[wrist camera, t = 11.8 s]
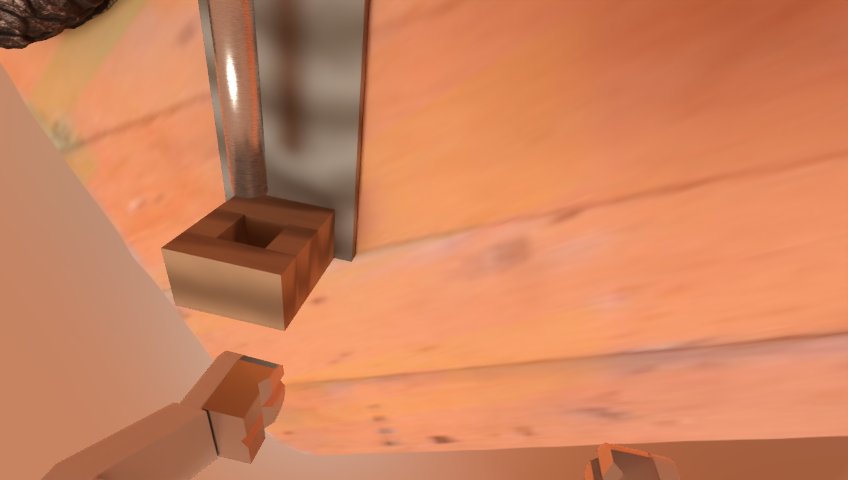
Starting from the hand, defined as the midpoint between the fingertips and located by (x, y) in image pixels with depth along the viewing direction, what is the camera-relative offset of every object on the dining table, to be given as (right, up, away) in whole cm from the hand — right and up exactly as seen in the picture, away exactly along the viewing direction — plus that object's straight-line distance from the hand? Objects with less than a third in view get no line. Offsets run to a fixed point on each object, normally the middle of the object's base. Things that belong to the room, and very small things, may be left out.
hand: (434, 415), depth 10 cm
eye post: (-13, +18, +27) cm, 34 cm away
